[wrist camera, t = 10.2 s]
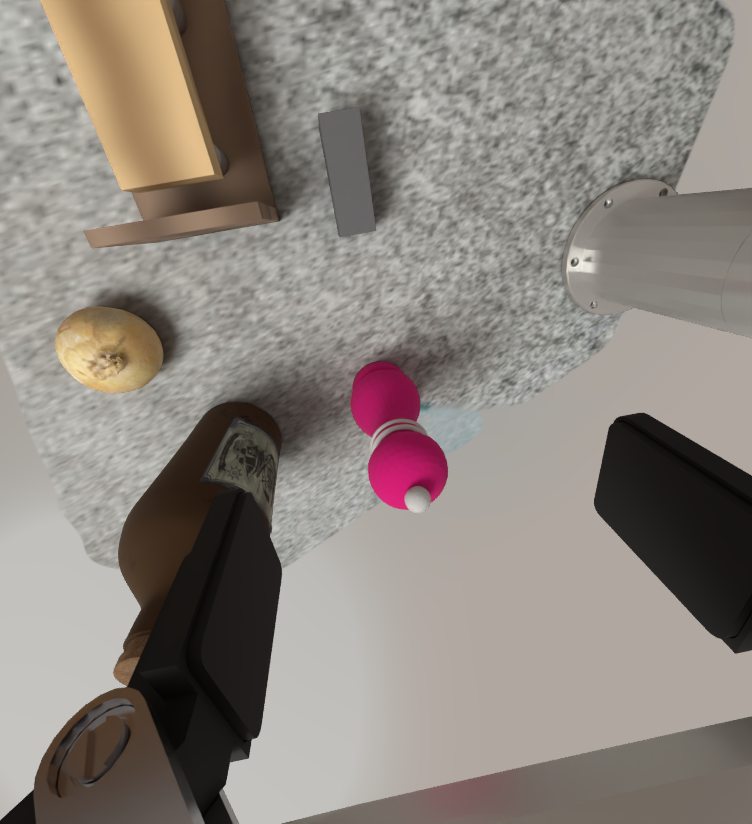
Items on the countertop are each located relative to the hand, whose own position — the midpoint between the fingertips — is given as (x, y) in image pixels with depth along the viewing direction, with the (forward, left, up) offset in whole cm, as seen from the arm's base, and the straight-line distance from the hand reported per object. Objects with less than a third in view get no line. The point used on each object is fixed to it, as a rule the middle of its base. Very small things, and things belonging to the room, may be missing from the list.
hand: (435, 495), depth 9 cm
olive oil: (+16, +13, -30) cm, 37 cm away
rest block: (-1, -10, -30) cm, 32 cm away
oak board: (+11, -17, -24) cm, 31 cm away
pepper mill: (-1, +10, -30) cm, 32 cm away
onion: (+23, 0, -30) cm, 38 cm away
